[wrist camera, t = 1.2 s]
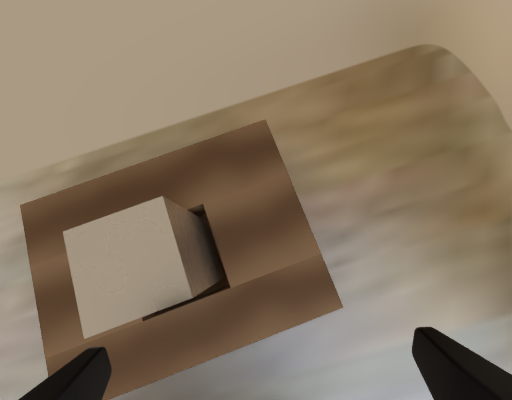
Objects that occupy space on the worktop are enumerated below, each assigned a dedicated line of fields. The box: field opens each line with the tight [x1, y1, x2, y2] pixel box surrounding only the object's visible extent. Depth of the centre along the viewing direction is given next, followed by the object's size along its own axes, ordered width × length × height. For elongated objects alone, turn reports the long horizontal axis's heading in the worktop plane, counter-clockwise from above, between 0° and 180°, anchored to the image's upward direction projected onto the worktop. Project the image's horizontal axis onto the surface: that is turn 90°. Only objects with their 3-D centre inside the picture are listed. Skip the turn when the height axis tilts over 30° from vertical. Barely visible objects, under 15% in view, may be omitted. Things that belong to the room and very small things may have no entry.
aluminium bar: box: [63, 196, 225, 339], centre depth 16 cm, size 5×5×10 cm
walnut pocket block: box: [20, 120, 343, 400], centre depth 21 cm, size 15×20×6 cm
